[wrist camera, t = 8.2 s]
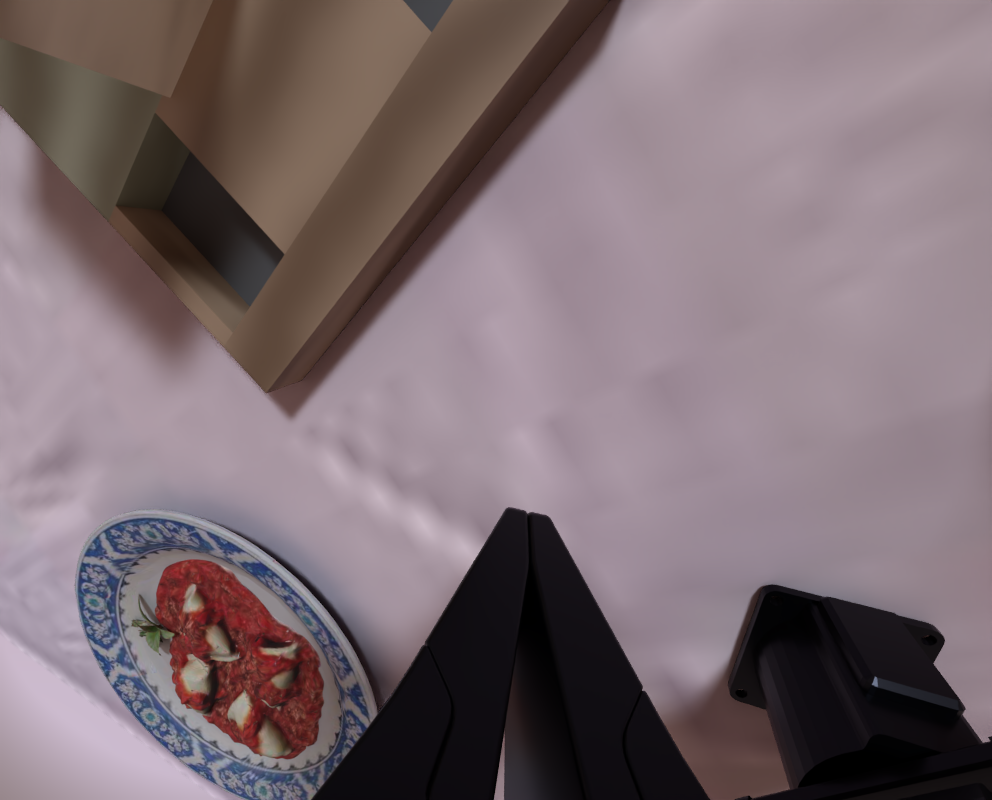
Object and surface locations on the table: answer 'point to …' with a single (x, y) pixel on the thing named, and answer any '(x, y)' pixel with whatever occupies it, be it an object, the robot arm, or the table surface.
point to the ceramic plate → (221, 654)
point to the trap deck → (293, 150)
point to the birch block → (111, 35)
